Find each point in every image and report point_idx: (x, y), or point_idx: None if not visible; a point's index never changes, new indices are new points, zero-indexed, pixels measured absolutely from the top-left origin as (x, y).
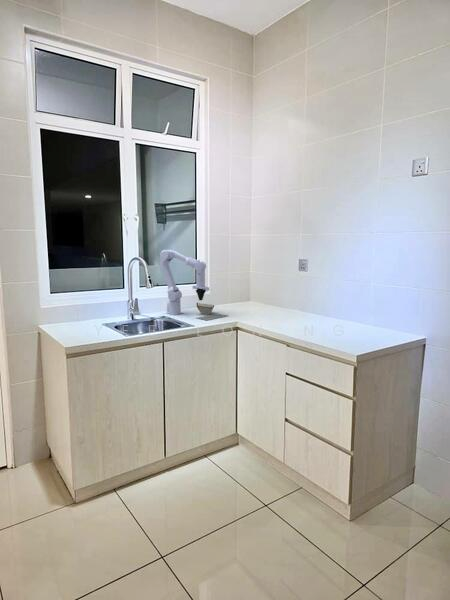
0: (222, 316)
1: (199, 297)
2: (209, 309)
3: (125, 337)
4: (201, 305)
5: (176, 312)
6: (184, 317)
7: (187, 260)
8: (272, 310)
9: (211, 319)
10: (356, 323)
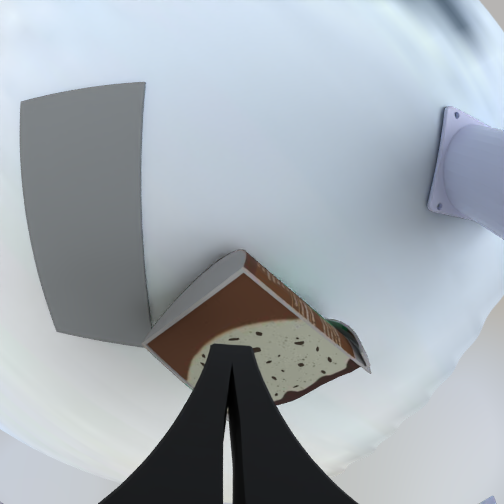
0: (50, 290)
1: (219, 383)
2: (161, 324)
3: None
4: (280, 344)
5: (458, 139)
6: (293, 48)
7: None
8: (89, 457)
9: (21, 156)
10: None
